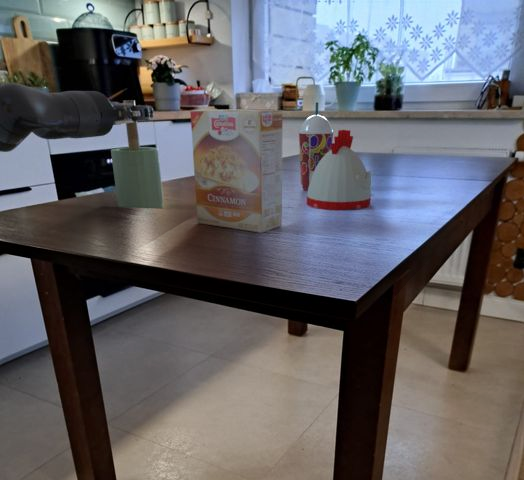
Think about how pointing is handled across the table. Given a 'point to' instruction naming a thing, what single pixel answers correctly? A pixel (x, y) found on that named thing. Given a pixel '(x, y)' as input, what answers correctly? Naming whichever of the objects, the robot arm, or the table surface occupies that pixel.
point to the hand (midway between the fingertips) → (137, 111)
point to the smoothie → (313, 144)
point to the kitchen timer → (340, 178)
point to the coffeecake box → (238, 168)
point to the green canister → (137, 177)
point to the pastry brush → (132, 131)
